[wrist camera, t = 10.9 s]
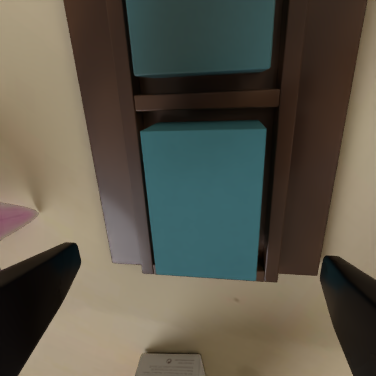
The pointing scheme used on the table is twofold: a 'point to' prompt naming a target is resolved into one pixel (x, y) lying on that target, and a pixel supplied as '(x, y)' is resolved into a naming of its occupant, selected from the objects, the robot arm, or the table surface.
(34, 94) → the table surface
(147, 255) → the brown two-compartment tray
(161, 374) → the small box
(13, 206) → the lily
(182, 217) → the pad
